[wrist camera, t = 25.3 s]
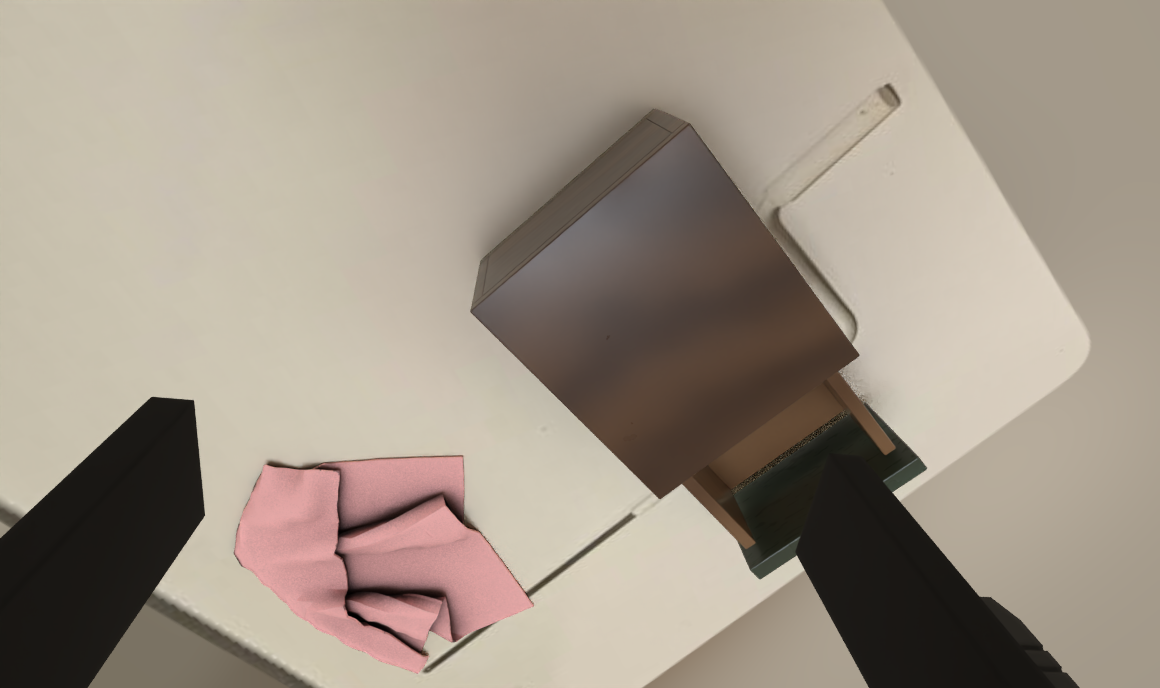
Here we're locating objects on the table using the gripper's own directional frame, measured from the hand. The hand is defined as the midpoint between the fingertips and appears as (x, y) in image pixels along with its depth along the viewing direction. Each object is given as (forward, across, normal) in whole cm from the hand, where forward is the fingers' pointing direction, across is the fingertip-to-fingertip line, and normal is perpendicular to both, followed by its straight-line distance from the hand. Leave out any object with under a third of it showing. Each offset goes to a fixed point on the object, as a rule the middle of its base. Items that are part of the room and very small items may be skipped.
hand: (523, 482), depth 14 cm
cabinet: (+28, +8, -4) cm, 29 cm away
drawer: (+27, +18, -13) cm, 35 cm away
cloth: (+28, -7, -28) cm, 40 cm away
